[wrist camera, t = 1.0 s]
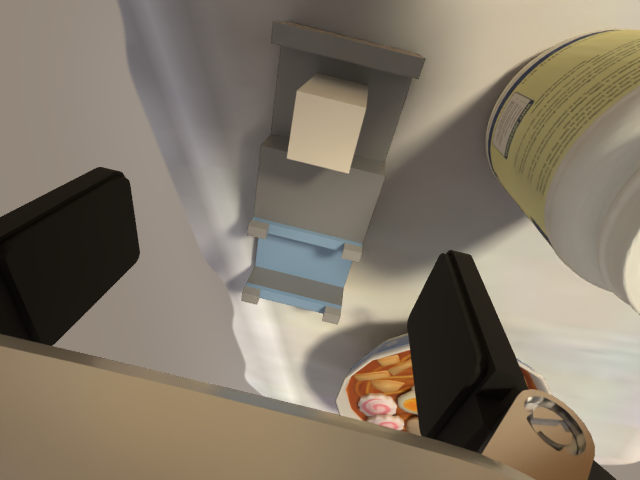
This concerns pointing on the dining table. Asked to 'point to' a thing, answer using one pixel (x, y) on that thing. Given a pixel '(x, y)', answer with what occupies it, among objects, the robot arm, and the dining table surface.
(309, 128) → the plug
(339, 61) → the grey tiered shelf stand
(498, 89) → the dining table surface
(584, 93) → the supplement tub
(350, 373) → the ramen bowl
